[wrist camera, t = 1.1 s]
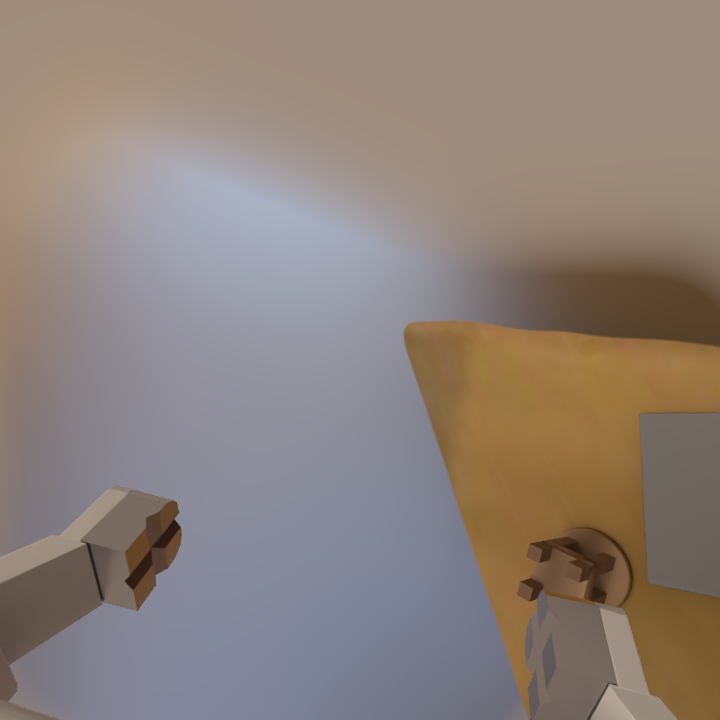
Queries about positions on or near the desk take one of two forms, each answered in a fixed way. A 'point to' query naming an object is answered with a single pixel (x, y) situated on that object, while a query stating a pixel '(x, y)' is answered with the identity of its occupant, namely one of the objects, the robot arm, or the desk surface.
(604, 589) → the stool
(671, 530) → the mat
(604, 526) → the desk surface
